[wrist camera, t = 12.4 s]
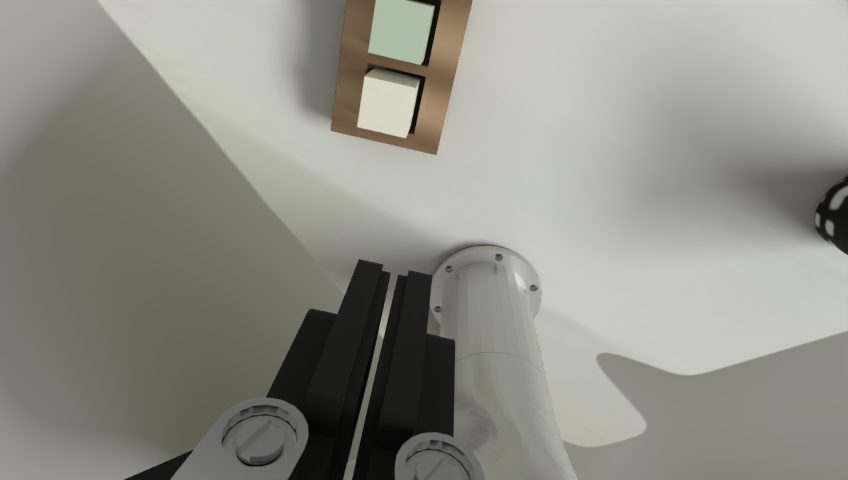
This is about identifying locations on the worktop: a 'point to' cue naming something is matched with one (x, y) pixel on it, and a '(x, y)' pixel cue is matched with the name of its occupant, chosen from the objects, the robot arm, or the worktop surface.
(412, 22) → the key sage
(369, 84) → the cream block
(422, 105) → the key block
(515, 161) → the worktop surface
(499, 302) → the robot arm
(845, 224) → the spotted tube
